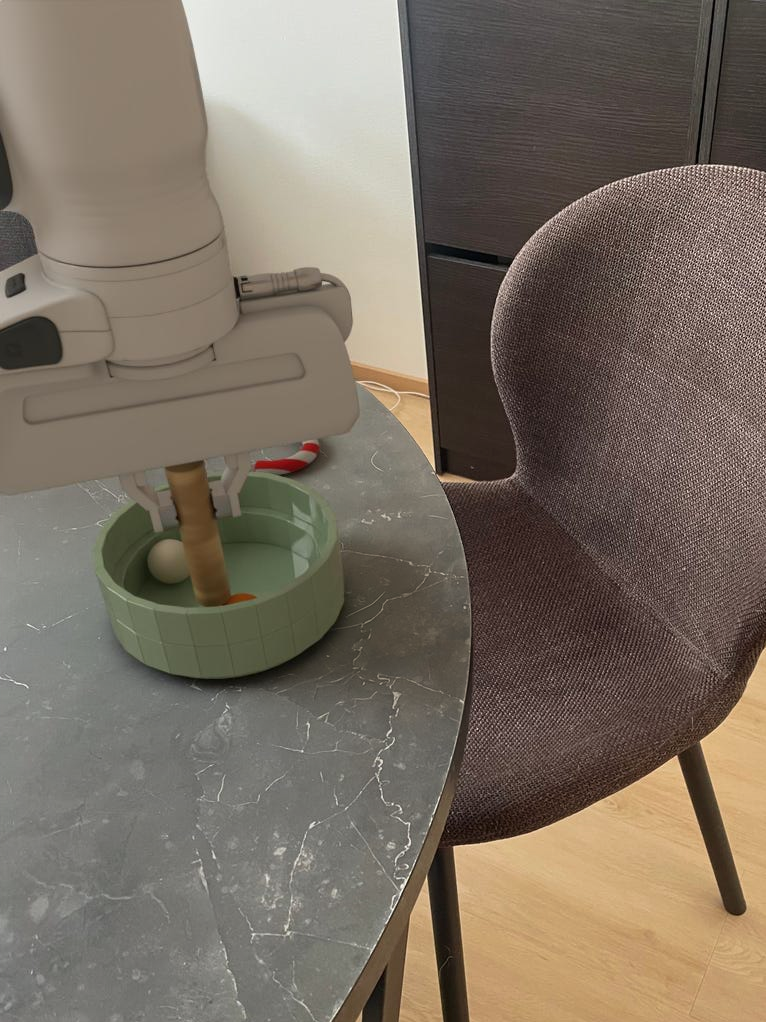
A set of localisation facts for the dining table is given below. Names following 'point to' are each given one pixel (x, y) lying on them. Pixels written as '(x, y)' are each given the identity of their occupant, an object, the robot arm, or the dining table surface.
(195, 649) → the bowl
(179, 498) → the stirring stick
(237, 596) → the orange ball
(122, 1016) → the dining table surface
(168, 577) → the cream ball
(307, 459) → the candy cane
